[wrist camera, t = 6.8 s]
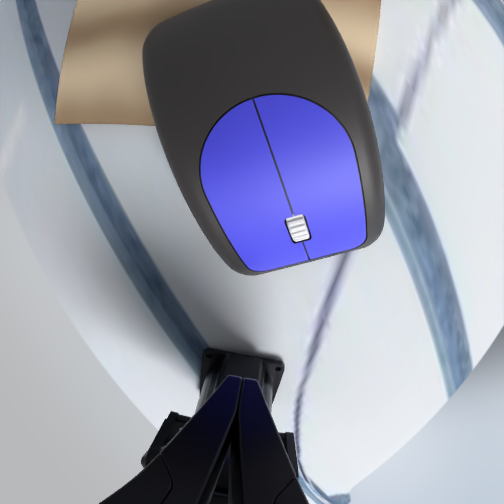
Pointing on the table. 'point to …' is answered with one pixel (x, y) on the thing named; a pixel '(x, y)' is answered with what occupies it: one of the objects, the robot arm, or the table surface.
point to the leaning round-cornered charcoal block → (266, 131)
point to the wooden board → (130, 55)
